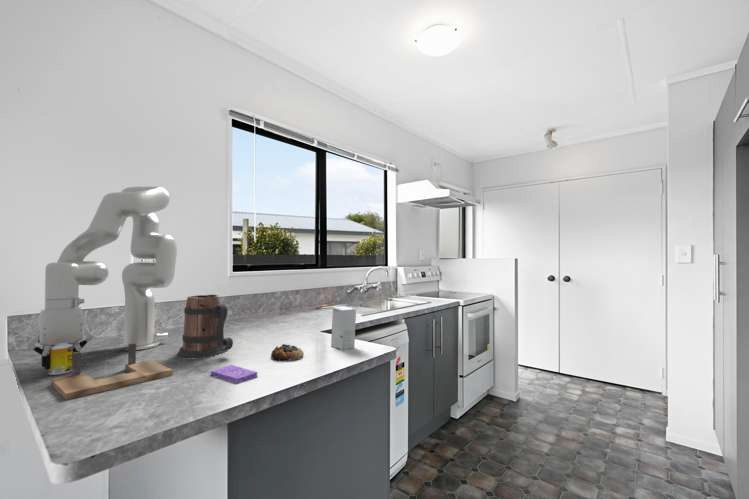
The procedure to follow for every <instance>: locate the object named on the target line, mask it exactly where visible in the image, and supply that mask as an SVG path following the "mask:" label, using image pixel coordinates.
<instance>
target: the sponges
mask: <svg viewBox="0 0 749 499" xmlns="http://www.w3.org/2000/svg"><path fill="white" fill-rule="evenodd" d="M258 373H259V372H258V371H254V370H251V369H248V368H244V367H241V366H238V365H237V366H236V365H234V364H230V365H225V366H223V367H220V368H218V369H213V370H210V376H213V377H216V378H219V379H222V380H225V381H229V382H232V383H235V384H239V383H241V382H245V381H248V380H251V379H253V378H254V379H255V378H257V377H258Z"/></svg>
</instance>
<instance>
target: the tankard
mask: <svg viewBox="0 0 749 499" xmlns="http://www.w3.org/2000/svg"><path fill="white" fill-rule="evenodd" d="M183 309H184V310H183V312H184V323H183V324H184V326H183V335H182V346H181V347H180V348H179V350H178V352H177V353H176V354H175V357H177V358H180V359H185V358H186V359H187V358H191V360H193V359H192V358H198V359H204V358H203V357H208V358H211V357H210V356H213V357H216V356H215V355H218V356H220V355H219V354H221V355H223V353H224V354H226V353H227V352H228V351H229V350H231V349H232V348H233V345H234V342H233V338H231V337H226V338H225V337H224V336H225V335H224V326H225V322H226V319H227V317H228V307H227V306H226V305H225V304H224V303H223V304H222V303H221V302H220V296H219V294H207V295H206V294H204V295H202V294H200V295H198V294H197V295H190V296H187V298H186V302H185V307H184V308H183ZM225 352H226V353H225Z"/></svg>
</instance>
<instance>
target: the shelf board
mask: <svg viewBox="0 0 749 499" xmlns="http://www.w3.org/2000/svg"><path fill="white" fill-rule="evenodd" d="M126 349H128V350H126ZM120 351H127V352H128V353H127V354H128V355H127V356H128V357H127V359H128V362H127V363H126V364H124V370H125V371H127V372H129V373H123V374H119V375H114V376H109V377H103V378H99V379H93V378H92V377H91V376H89V375H88V374H87V373H85V372H81V358H83V357H84V358H85V357H90V356H95V355H96V356H97V355H102V354H109V353H113V352H120ZM136 355H137V350H136V343H129V345H126V346H120V347H119V346H115V347H109V348H108V347H107V348H101V349H97V350H96V349H95V350H91V351H84V352H81V351H80V352H73V353H72V371H71V374H70V375H66V376H60V377H55V378H51V379H50V385H51V386H52V388H53V389H54V390H55V391H57V393H58V394H59V395H60V396H61V397H62V398H63V399H65V401H66V400H67V401H68V400H72V399H76V398H80V397H84V396H89V395H92V394H96V393H101V392H106V391H110V390H114V389H118V388H119V389H120V388H123V387H128V386H131V385H135V384H140V383H144V382H147V381H148V382H149V381H152V380H156V379H160V378H165V377H170V376H173V372H174V371H173V368H170V367H168V366H166V365H163V364H161V363H159V362H157V361H155V360H153V359H146V360H142V361H136V359H137V356H136Z"/></svg>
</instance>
